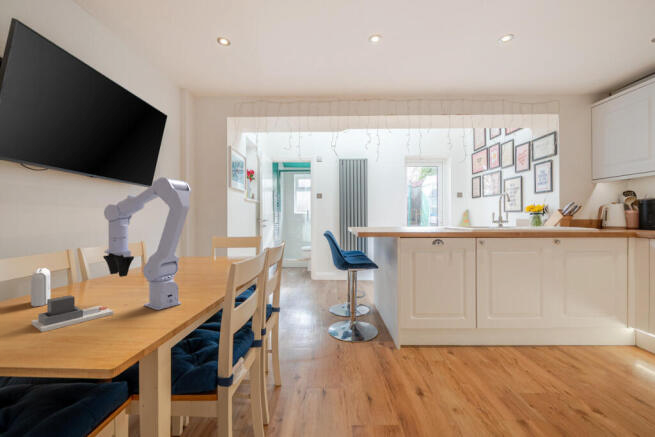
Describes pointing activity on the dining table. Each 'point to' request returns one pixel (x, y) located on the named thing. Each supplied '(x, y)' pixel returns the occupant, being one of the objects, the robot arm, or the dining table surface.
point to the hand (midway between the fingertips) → (118, 275)
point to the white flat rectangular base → (70, 317)
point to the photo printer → (40, 287)
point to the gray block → (60, 305)
